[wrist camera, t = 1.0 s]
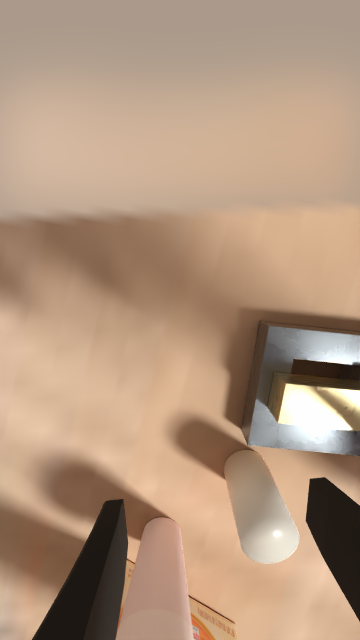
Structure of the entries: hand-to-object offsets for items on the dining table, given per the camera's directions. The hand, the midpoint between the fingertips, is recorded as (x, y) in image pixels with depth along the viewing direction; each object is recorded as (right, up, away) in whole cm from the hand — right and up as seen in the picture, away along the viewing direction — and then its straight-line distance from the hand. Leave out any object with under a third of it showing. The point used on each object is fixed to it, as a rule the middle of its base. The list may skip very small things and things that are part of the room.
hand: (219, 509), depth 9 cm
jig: (+12, +1, +11) cm, 16 cm away
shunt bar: (+10, +1, +9) cm, 13 cm away
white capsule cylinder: (+5, -7, +13) cm, 15 cm away
